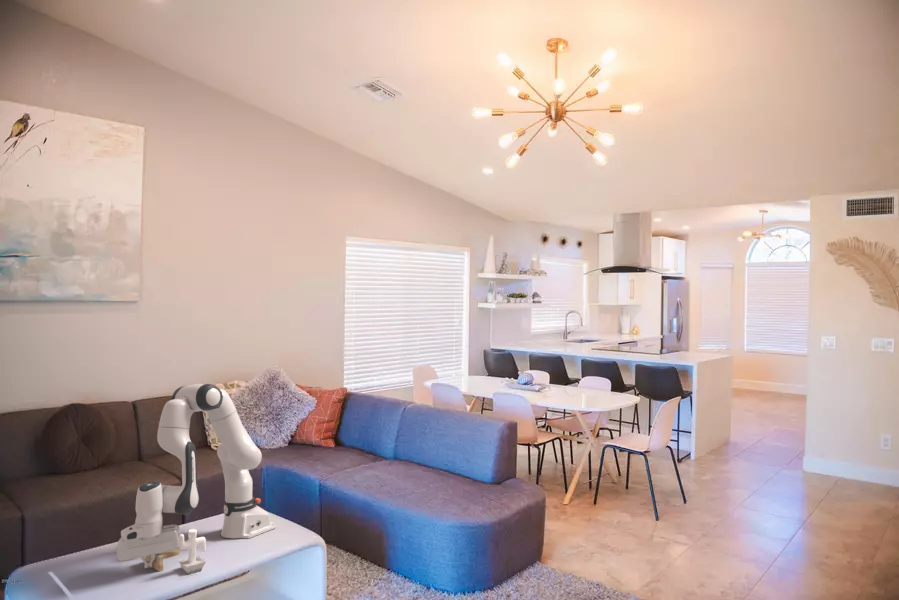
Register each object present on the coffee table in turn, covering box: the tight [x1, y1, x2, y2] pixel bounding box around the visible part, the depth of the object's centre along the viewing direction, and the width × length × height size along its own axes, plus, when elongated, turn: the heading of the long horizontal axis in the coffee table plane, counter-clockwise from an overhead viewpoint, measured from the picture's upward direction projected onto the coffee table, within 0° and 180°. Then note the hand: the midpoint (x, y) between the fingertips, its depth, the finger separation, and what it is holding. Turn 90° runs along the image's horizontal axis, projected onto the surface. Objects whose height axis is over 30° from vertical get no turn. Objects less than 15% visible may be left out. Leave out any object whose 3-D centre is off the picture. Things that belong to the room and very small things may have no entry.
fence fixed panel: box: [160, 548, 181, 560], centre depth 230 cm, size 11×1×6 cm, turn 136°
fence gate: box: [145, 553, 164, 572], centre depth 222 cm, size 12×1×5 cm, turn 53°
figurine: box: [178, 528, 207, 576], centre depth 221 cm, size 7×9×15 cm
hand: (148, 567), depth 218 cm, fingers closed
